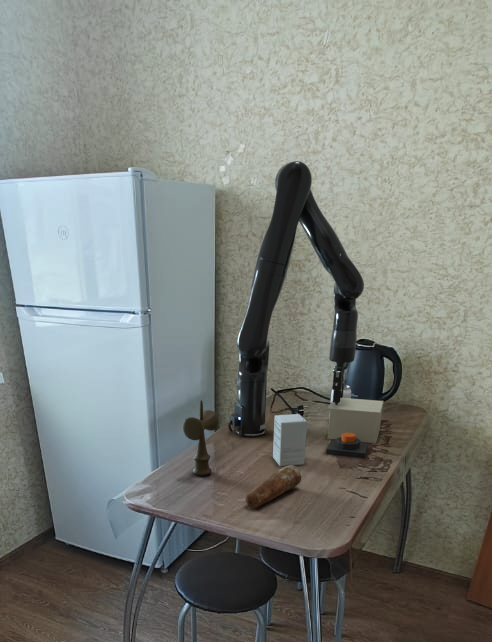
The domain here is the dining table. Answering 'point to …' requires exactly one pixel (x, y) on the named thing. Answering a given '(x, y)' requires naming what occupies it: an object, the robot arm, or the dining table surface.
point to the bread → (274, 486)
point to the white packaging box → (289, 439)
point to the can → (345, 393)
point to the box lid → (357, 406)
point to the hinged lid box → (354, 425)
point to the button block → (347, 448)
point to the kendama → (201, 437)
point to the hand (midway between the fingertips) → (337, 399)
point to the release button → (348, 437)
